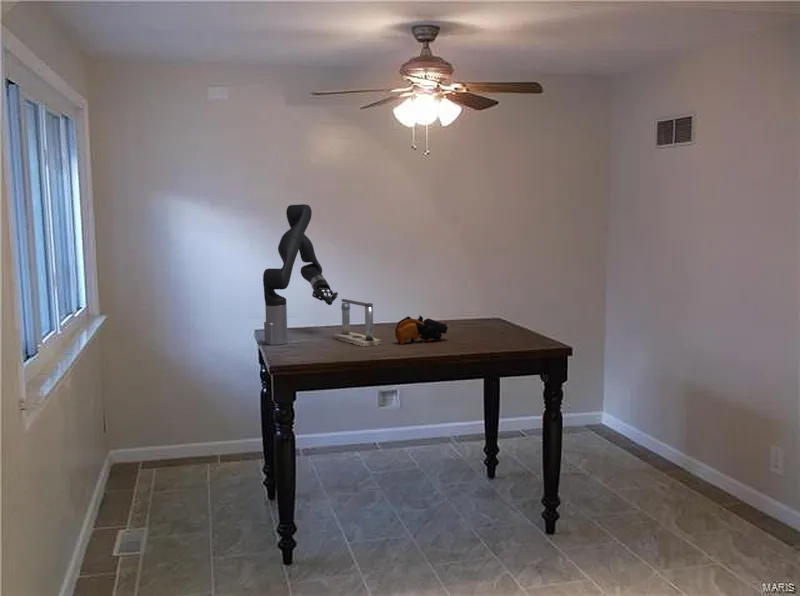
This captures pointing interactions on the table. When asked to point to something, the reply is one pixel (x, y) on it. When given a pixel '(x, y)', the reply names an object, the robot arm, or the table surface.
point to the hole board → (357, 339)
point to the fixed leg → (367, 317)
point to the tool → (419, 329)
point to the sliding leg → (345, 318)
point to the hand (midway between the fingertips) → (330, 303)
